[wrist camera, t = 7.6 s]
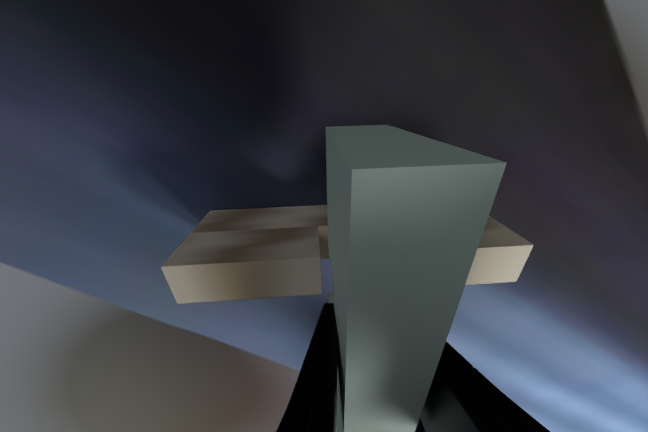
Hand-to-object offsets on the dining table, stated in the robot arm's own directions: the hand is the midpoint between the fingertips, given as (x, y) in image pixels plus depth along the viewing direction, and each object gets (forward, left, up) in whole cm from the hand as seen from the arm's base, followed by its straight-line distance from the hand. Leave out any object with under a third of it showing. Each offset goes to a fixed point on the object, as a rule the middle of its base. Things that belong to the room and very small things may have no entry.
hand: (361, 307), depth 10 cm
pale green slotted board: (0, 0, -2) cm, 2 cm away
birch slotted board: (0, 0, -8) cm, 8 cm away
